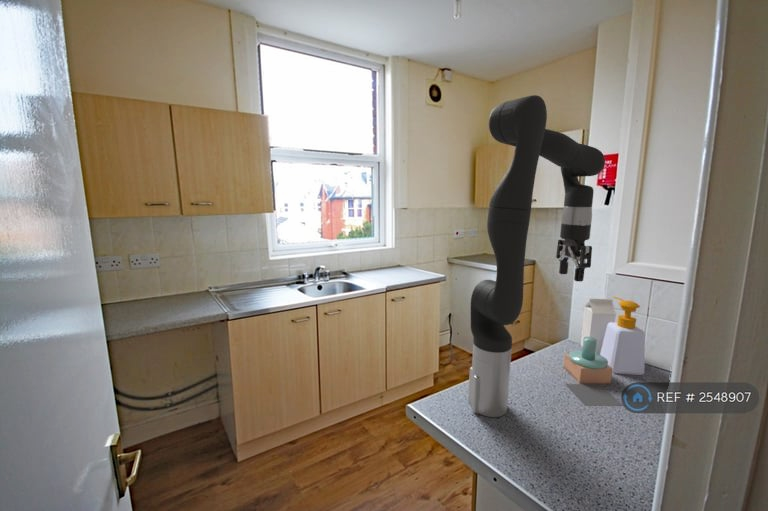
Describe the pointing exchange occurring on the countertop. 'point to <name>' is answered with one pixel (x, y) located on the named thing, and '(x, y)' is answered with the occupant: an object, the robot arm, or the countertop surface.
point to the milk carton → (597, 320)
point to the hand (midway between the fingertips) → (570, 277)
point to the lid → (588, 355)
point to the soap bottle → (625, 343)
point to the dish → (587, 372)
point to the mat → (593, 395)
